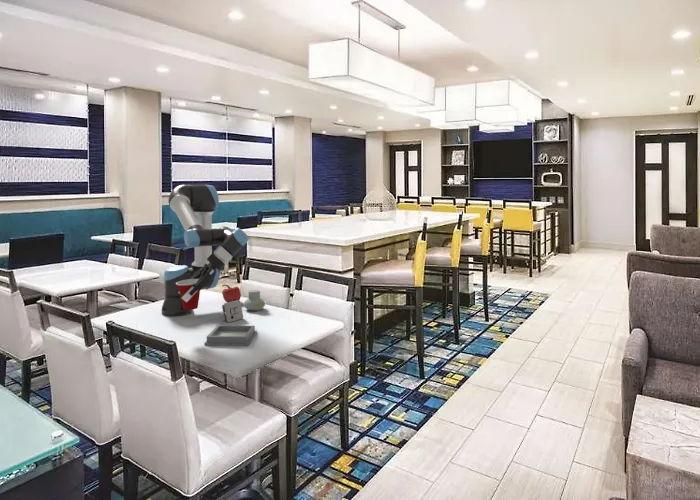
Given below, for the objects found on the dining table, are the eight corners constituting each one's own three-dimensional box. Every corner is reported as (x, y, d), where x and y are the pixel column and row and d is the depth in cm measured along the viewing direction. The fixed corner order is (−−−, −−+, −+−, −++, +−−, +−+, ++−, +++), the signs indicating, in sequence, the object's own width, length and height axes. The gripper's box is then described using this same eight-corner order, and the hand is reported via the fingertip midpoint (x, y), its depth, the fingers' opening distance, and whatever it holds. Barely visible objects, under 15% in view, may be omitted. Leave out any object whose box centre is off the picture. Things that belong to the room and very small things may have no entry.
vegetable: (217, 304, 270) (217, 286, 269) (227, 299, 280) (226, 282, 279) (235, 305, 267) (235, 287, 266) (244, 301, 277) (244, 283, 276)
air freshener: (258, 306, 266) (258, 288, 265) (267, 309, 261) (267, 290, 259) (241, 310, 259) (240, 291, 257) (250, 313, 253) (250, 293, 252)
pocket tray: (216, 332, 220) (216, 324, 220) (256, 332, 220) (256, 325, 220) (204, 345, 202) (204, 337, 202) (248, 346, 202) (248, 337, 202)
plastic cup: (180, 305, 216) (179, 278, 214) (205, 304, 216) (204, 277, 215) (173, 311, 205) (172, 283, 203) (200, 311, 206) (199, 283, 204)
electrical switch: (228, 323, 235) (226, 303, 234) (221, 322, 238) (220, 302, 237) (243, 319, 242) (242, 300, 241) (237, 318, 245) (235, 299, 245)
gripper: (231, 268, 204) (192, 309, 200) (220, 260, 225) (185, 297, 220) (217, 256, 201) (178, 297, 197) (208, 249, 222) (172, 286, 217)
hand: (182, 297), depth 209 cm, fingers closed on plastic cup, 10 cm apart
